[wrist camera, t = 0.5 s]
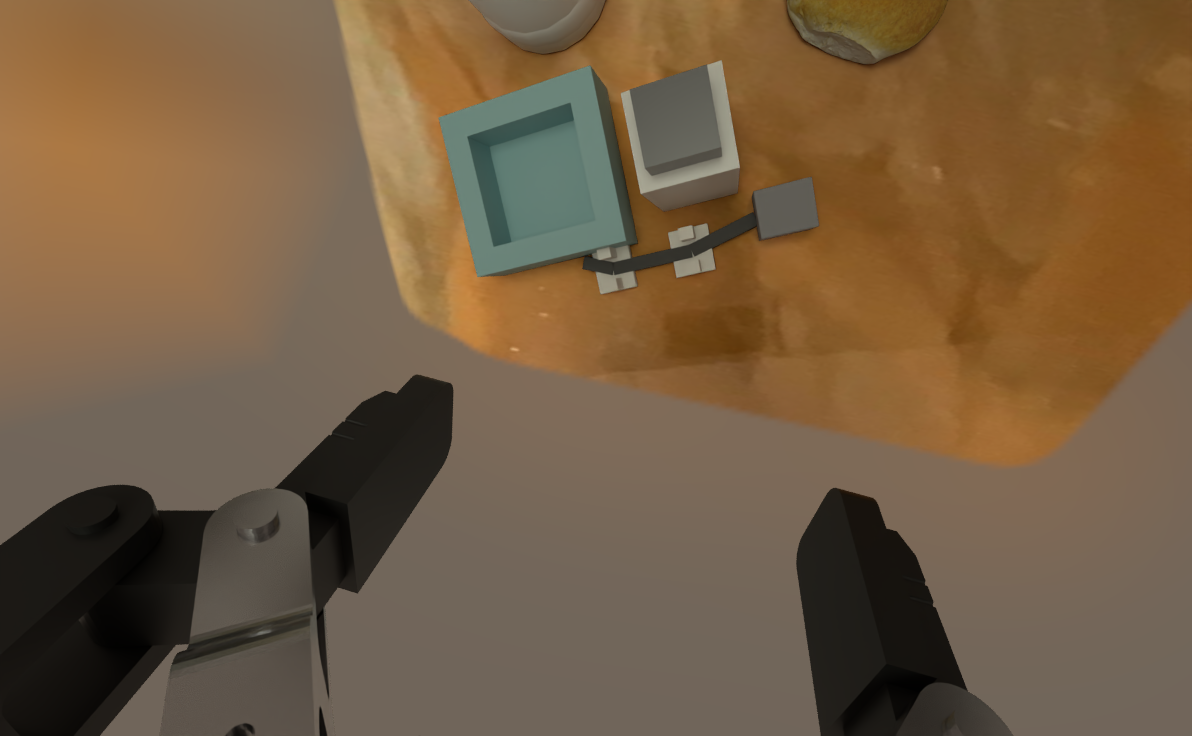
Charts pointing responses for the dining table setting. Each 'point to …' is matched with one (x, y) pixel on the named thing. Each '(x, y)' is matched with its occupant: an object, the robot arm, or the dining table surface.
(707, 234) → the cable run
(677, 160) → the block
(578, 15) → the bottle
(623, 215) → the end socket
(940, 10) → the bread roll
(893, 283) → the dining table surface
